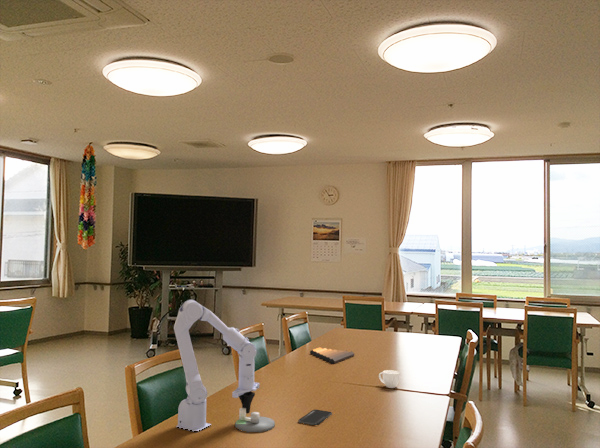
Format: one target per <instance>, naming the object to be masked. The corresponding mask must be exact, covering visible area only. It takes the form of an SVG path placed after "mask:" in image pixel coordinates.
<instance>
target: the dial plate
mask: <svg viewBox="0 0 600 448" xmlns="http://www.w3.org/2000/svg"><path fill="white" fill-rule="evenodd" d="M247 417H248V418H251V416H247ZM234 424H235V425H234V426H235V427H236V428H238V429H239V430H238V429H237V430H238V431H240V430H242V431H241V432H243V431H246V432H245V433H249V432H259V433H264V432H263V431H265V432H268V430H269V431H271V430H273V429H274V428H275V427H276V426H275V424H276V423H275V420H274V419H273V418H271V417H266V416H261V415H259V423H251V421H246V420H239V419H237V420H236V421H235V423H234ZM235 427H234V428H235ZM236 428H235V429H236ZM272 428H273V429H272Z"/></svg>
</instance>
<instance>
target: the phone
mask: <svg viewBox="0 0 600 448" xmlns="http://www.w3.org/2000/svg"><path fill="white" fill-rule="evenodd" d="M330 415H331V416H332V415H333V412H332V411H329V410H327V411H326V410H321V409H313V410H311V411H310V412H308V413H307V414H305V415H304V416H302V417H300V418H299V419H298V421H297V422H299V424H301V423H304V424H303V425H306V424H309V425H308V426H312V425H318V426H320V425H321V424H322V423H323V422H325V421H326V420H327V419H329V418H330V417H331V416H330ZM329 416H330V417H329ZM328 417H329V418H328ZM326 418H327V419H326ZM325 419H326V420H325ZM324 420H325V421H324ZM321 422H322V423H321ZM320 423H321V424H320Z"/></svg>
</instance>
